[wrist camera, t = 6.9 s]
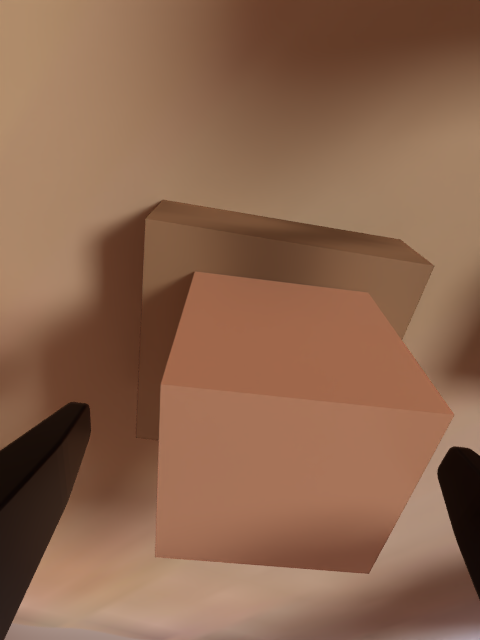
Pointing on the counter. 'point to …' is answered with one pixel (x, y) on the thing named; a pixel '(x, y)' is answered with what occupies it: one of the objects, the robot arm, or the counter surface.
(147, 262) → the walnut slab
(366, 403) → the terracotta cube
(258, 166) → the counter surface
